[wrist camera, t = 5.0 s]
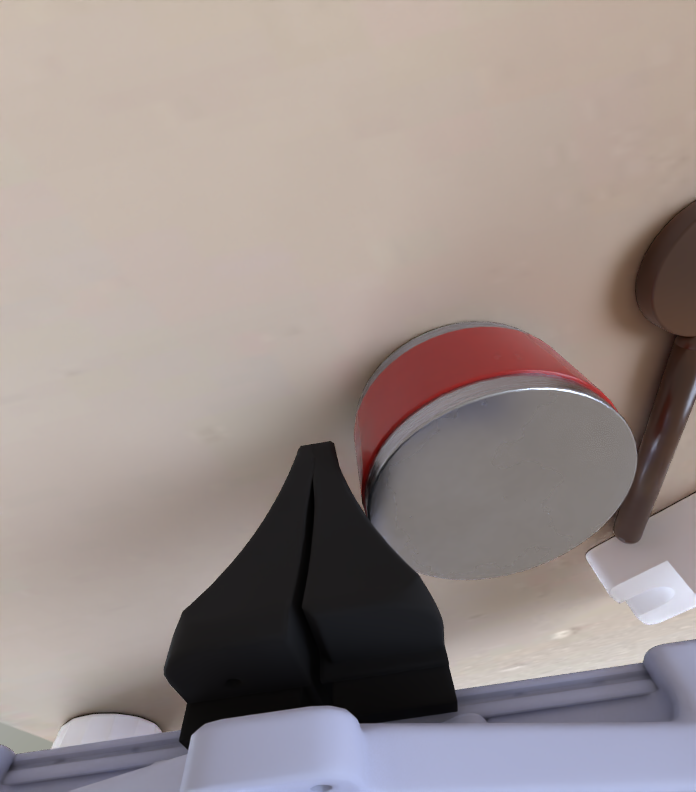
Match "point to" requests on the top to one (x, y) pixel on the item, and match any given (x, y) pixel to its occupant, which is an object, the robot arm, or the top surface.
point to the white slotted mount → (653, 565)
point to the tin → (487, 452)
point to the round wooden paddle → (685, 371)
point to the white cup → (102, 729)
